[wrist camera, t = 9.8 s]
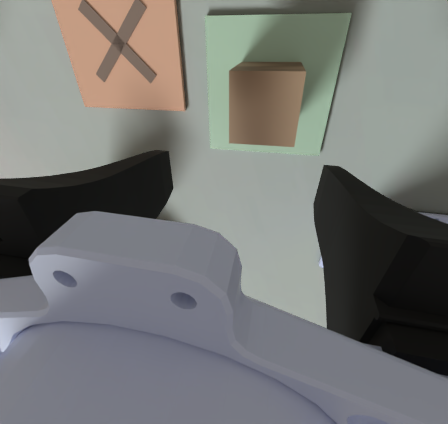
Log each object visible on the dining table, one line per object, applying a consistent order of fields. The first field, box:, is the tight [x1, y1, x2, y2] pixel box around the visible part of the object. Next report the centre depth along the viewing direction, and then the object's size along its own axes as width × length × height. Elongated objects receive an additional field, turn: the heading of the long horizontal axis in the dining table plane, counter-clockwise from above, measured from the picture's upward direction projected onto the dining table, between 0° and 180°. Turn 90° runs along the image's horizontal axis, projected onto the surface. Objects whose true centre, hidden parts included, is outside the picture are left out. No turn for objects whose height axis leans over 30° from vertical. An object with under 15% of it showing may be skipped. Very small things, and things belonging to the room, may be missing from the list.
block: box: [229, 62, 306, 147], centre depth 16 cm, size 4×4×5 cm
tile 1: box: [52, 0, 186, 111], centre depth 18 cm, size 9×9×1 cm
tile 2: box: [205, 13, 352, 156], centre depth 18 cm, size 9×9×1 cm
